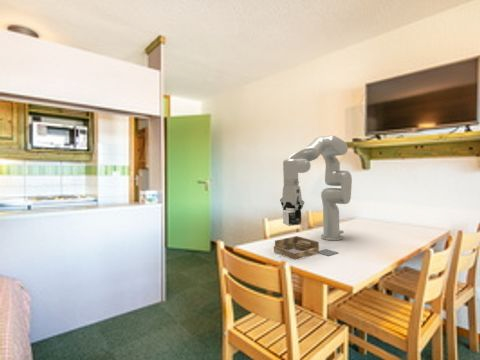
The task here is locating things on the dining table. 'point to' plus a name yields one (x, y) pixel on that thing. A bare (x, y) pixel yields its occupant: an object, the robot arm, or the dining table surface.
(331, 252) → the mat
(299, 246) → the offcut stack
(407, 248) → the dining table surface
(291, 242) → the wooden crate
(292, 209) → the medicine bottle
